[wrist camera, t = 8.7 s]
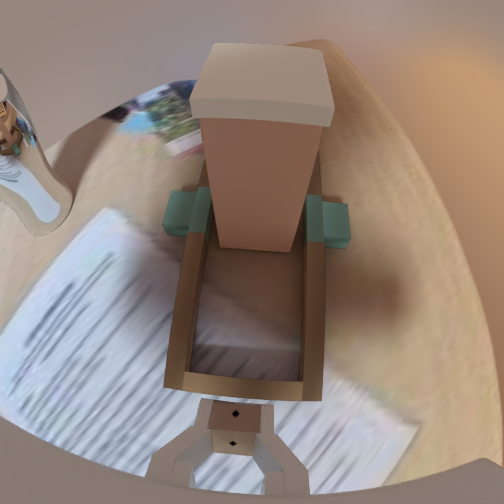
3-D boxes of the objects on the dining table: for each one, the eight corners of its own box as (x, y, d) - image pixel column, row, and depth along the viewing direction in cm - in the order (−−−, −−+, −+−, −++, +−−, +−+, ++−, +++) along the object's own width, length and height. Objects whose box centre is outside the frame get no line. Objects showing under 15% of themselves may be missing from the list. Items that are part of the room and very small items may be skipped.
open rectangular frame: (141, 382, 17) (133, 381, 16) (200, 117, 28) (199, 105, 27) (345, 399, 17) (353, 400, 16) (331, 126, 28) (334, 115, 26)
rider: (217, 249, 21) (189, 98, 10) (226, 189, 24) (214, 43, 12) (292, 255, 21) (334, 107, 10) (293, 194, 24) (321, 50, 12)
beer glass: (66, 169, 25) (3, 54, 12) (86, 209, 23) (2, 74, 10) (18, 208, 23) (-60, 110, 10) (30, 255, 21) (-76, 148, 8)
